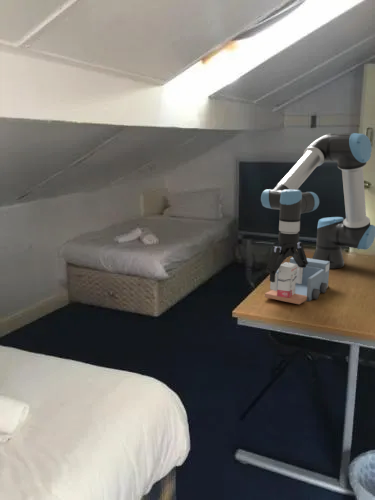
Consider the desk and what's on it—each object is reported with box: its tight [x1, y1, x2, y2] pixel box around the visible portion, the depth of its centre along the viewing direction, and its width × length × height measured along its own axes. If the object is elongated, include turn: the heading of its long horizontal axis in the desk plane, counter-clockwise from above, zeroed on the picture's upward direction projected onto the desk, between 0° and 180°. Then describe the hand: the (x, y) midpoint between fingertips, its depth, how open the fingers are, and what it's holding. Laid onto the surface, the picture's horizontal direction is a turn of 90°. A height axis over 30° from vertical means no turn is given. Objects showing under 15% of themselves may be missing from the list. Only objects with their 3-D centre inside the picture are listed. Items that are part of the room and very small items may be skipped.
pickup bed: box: [270, 256, 330, 302], centre depth 192 cm, size 21×19×11 cm
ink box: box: [277, 261, 298, 298], centre depth 179 cm, size 9×5×12 cm, turn 150°
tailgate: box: [264, 289, 307, 305], centre depth 180 cm, size 2×14×8 cm
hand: (286, 286), depth 179 cm, fingers open, 13 cm apart
